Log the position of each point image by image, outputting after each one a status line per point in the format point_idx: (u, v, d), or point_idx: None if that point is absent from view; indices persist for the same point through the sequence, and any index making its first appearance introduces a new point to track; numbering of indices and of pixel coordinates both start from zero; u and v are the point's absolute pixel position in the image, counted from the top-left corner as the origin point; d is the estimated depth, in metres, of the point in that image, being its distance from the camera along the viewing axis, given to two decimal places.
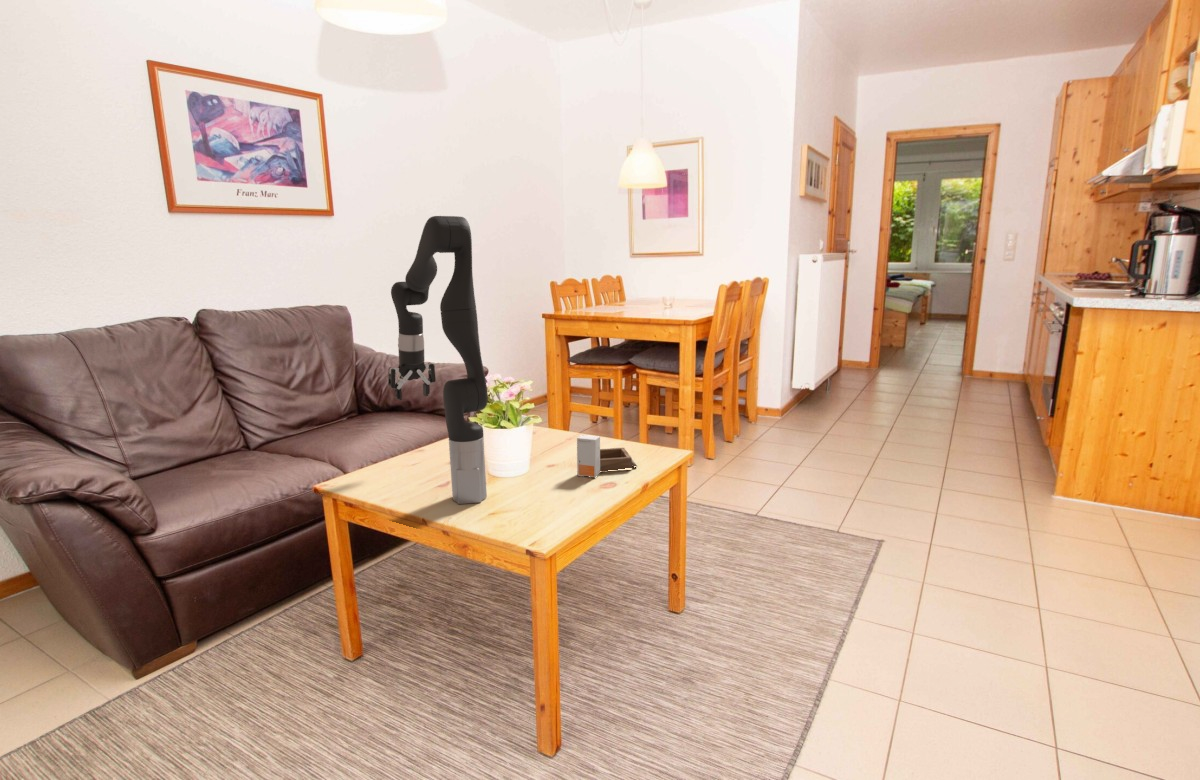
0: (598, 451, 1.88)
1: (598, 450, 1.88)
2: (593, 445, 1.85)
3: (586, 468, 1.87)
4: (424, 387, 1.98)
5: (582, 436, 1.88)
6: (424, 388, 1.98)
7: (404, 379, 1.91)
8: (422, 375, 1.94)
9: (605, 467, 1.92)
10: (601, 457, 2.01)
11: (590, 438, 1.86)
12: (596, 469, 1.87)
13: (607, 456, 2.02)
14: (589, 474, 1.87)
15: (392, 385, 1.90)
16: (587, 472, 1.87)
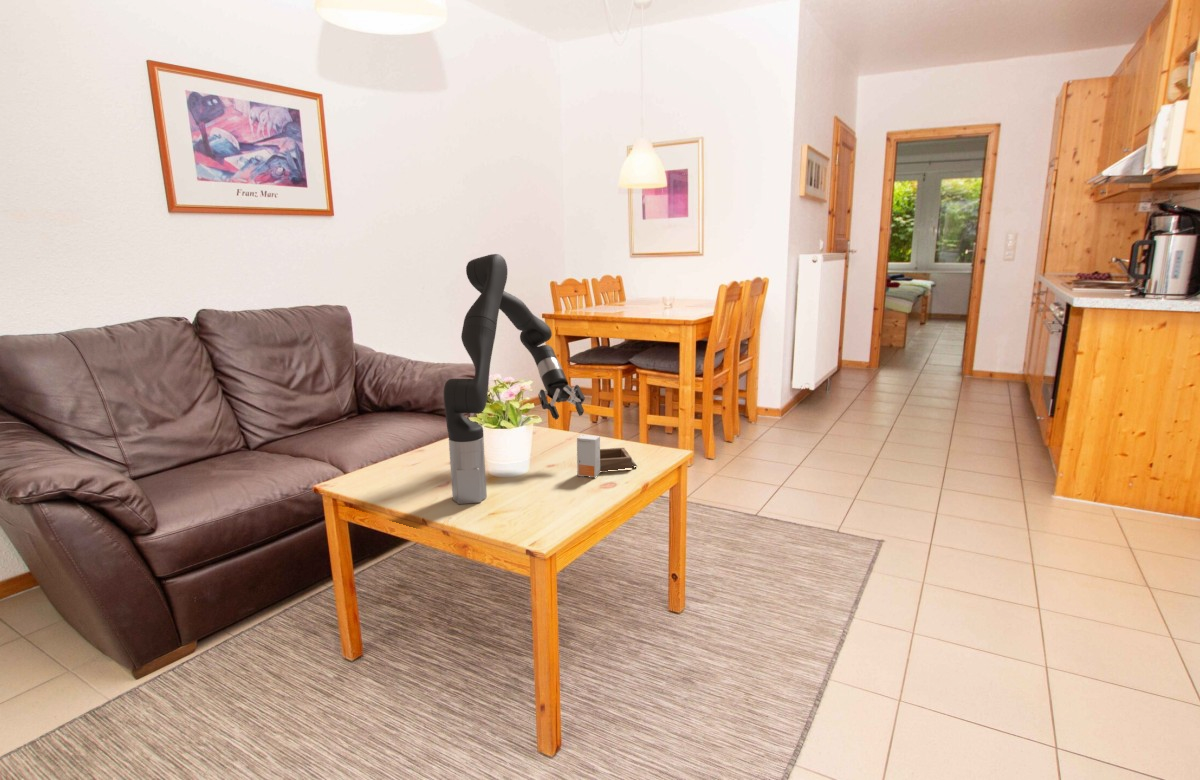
0: (598, 451, 1.88)
1: (598, 450, 1.88)
2: (593, 445, 1.85)
3: (586, 468, 1.87)
4: (577, 407, 2.00)
5: (582, 436, 1.88)
6: (577, 408, 2.00)
7: (554, 396, 1.97)
8: (570, 393, 2.00)
9: (605, 467, 1.92)
10: (601, 457, 2.01)
11: (590, 438, 1.86)
12: (596, 469, 1.87)
13: (607, 456, 2.02)
14: (589, 474, 1.87)
15: (545, 402, 1.95)
16: (587, 472, 1.87)
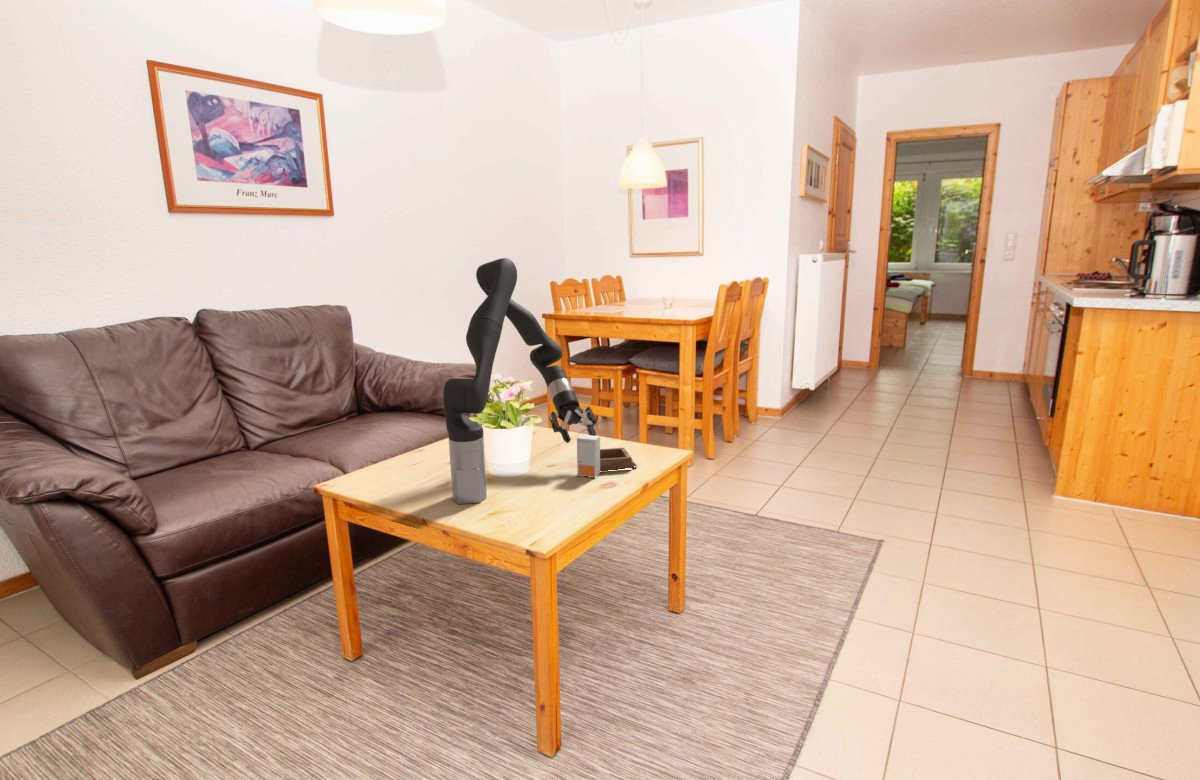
0: (598, 451, 1.88)
1: (598, 450, 1.88)
2: (593, 445, 1.85)
3: (586, 468, 1.87)
4: (589, 429, 1.95)
5: (582, 436, 1.88)
6: (589, 430, 1.94)
7: (566, 419, 1.92)
8: (582, 415, 1.95)
9: (605, 467, 1.92)
10: (601, 457, 2.01)
11: (590, 438, 1.86)
12: (596, 469, 1.87)
13: (607, 456, 2.02)
14: (589, 474, 1.87)
15: (556, 425, 1.90)
16: (587, 472, 1.87)
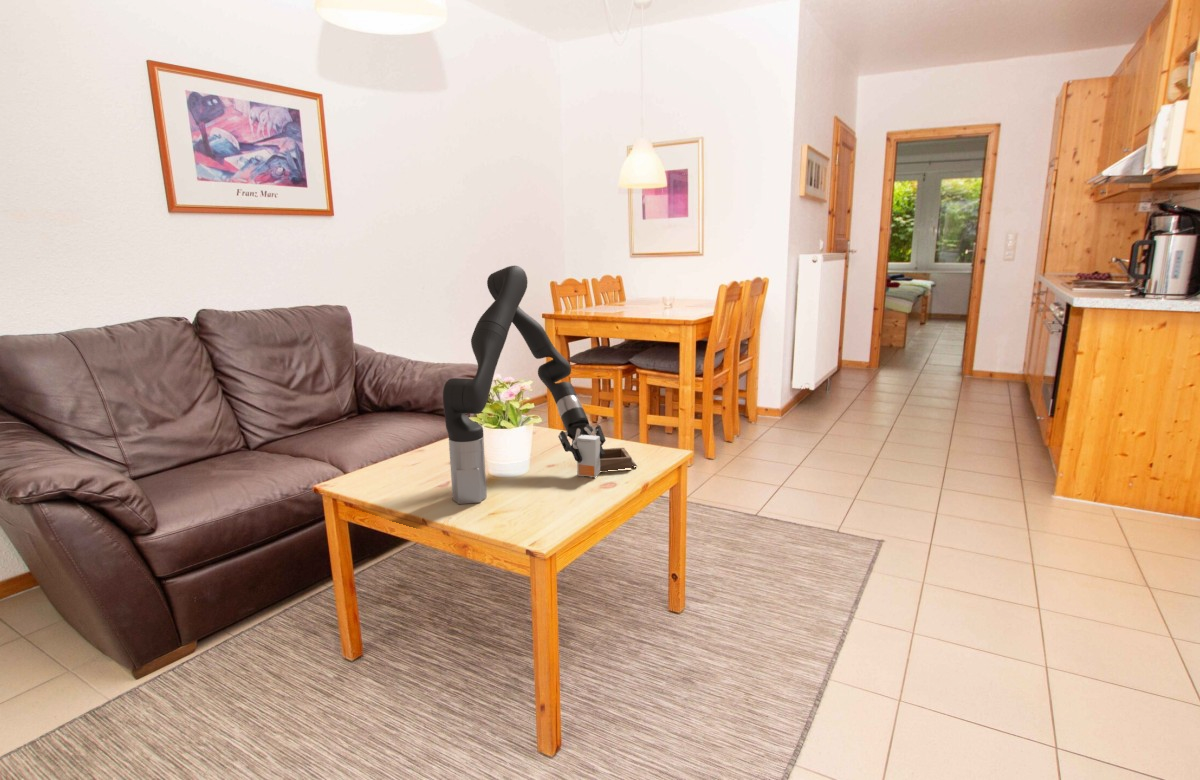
0: (598, 451, 1.88)
1: (598, 450, 1.88)
2: (593, 445, 1.85)
3: (586, 468, 1.87)
4: None
5: (582, 436, 1.88)
6: None
7: (576, 438, 1.88)
8: (591, 433, 1.91)
9: (605, 467, 1.92)
10: None
11: (590, 438, 1.86)
12: (596, 469, 1.87)
13: (607, 456, 2.02)
14: (589, 474, 1.87)
15: (567, 445, 1.86)
16: (587, 472, 1.87)
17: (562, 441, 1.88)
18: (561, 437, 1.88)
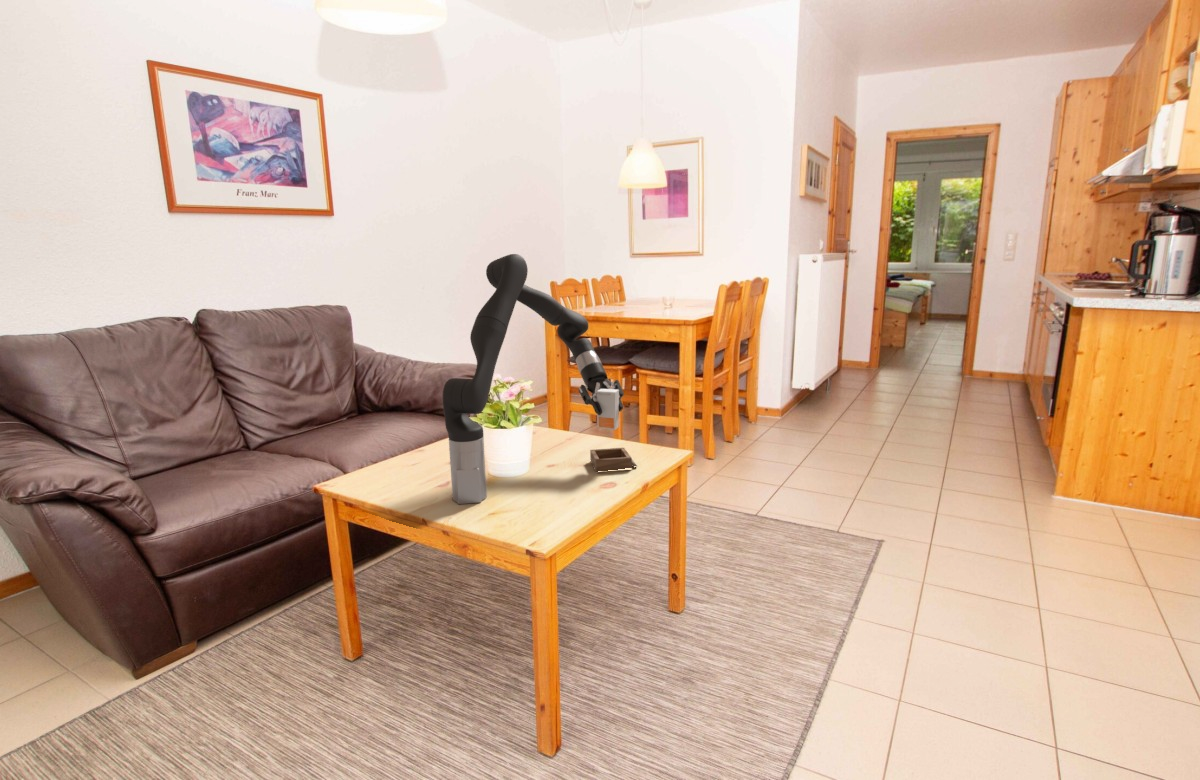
0: (618, 404, 1.94)
1: (617, 403, 1.93)
2: (613, 397, 1.91)
3: (606, 421, 1.93)
4: None
5: (602, 389, 1.94)
6: None
7: (596, 391, 1.93)
8: (610, 387, 1.96)
9: (605, 467, 1.92)
10: (601, 457, 2.01)
11: (610, 391, 1.92)
12: (616, 421, 1.93)
13: (607, 456, 2.02)
14: (609, 426, 1.93)
15: (588, 398, 1.91)
16: (606, 424, 1.93)
17: (582, 394, 1.93)
18: (581, 390, 1.93)
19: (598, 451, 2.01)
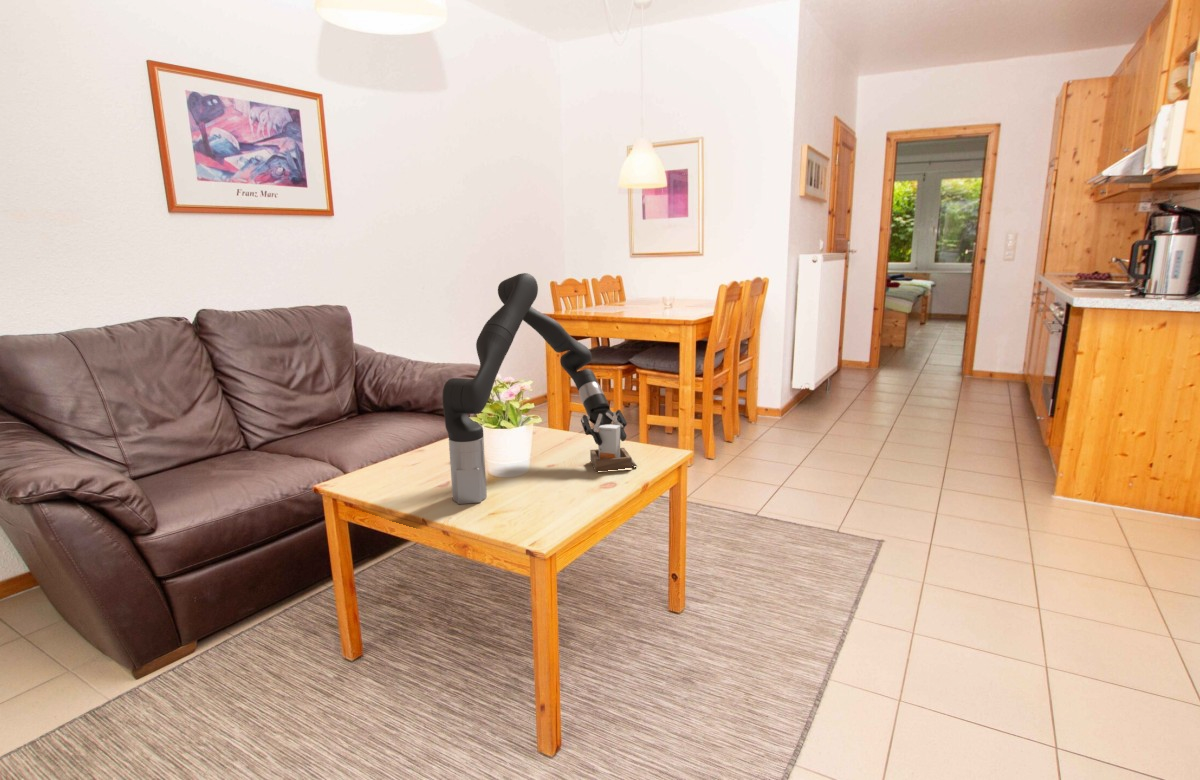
0: (619, 440, 1.96)
1: (618, 439, 1.96)
2: (614, 433, 1.93)
3: (607, 456, 1.95)
4: None
5: (603, 425, 1.96)
6: (620, 433, 1.98)
7: (597, 422, 1.95)
8: (612, 418, 1.98)
9: (605, 467, 1.92)
10: None
11: (611, 427, 1.94)
12: (617, 457, 1.95)
13: None
14: None
15: (588, 428, 1.93)
16: None
17: (583, 424, 1.95)
18: (583, 420, 1.95)
19: None
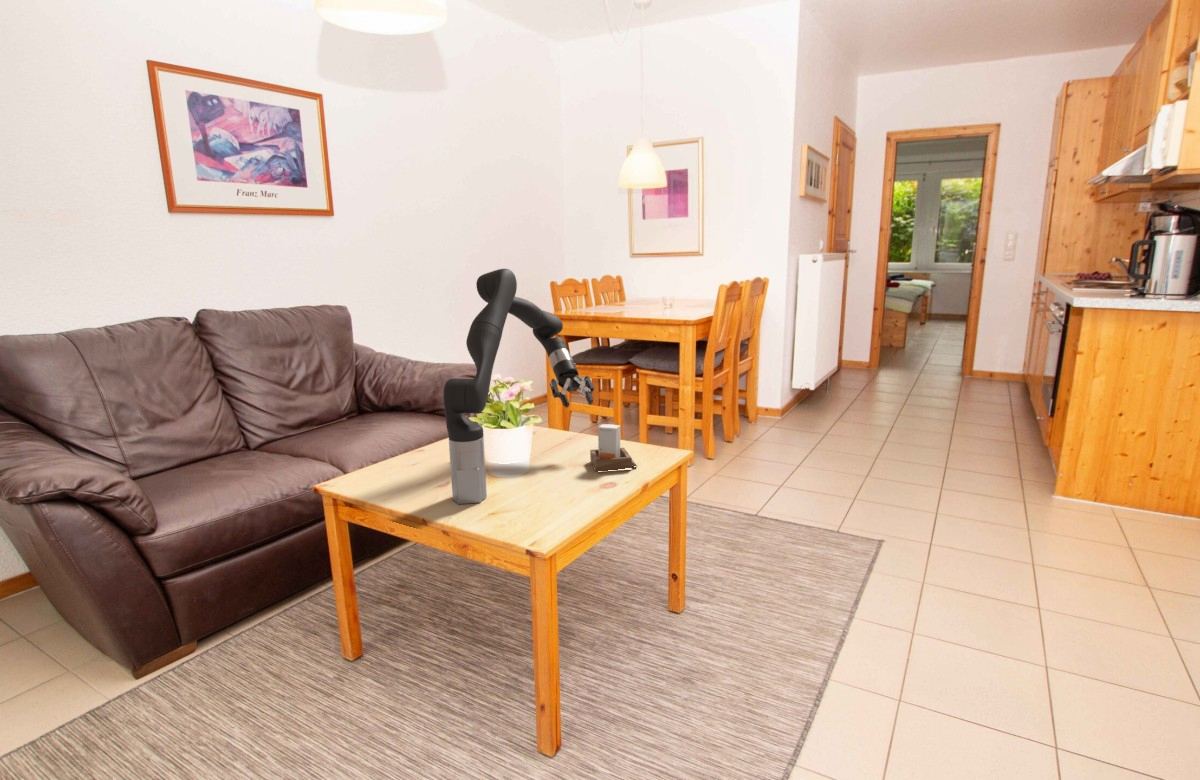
0: (619, 440, 1.96)
1: (618, 439, 1.96)
2: (614, 433, 1.93)
3: (607, 456, 1.95)
4: (587, 396, 2.07)
5: (603, 425, 1.96)
6: (587, 397, 2.07)
7: (565, 385, 2.04)
8: (580, 382, 2.07)
9: (605, 467, 1.92)
10: None
11: (611, 427, 1.94)
12: (617, 457, 1.95)
13: None
14: None
15: (556, 391, 2.02)
16: None
17: (552, 388, 2.04)
18: (551, 384, 2.04)
19: None
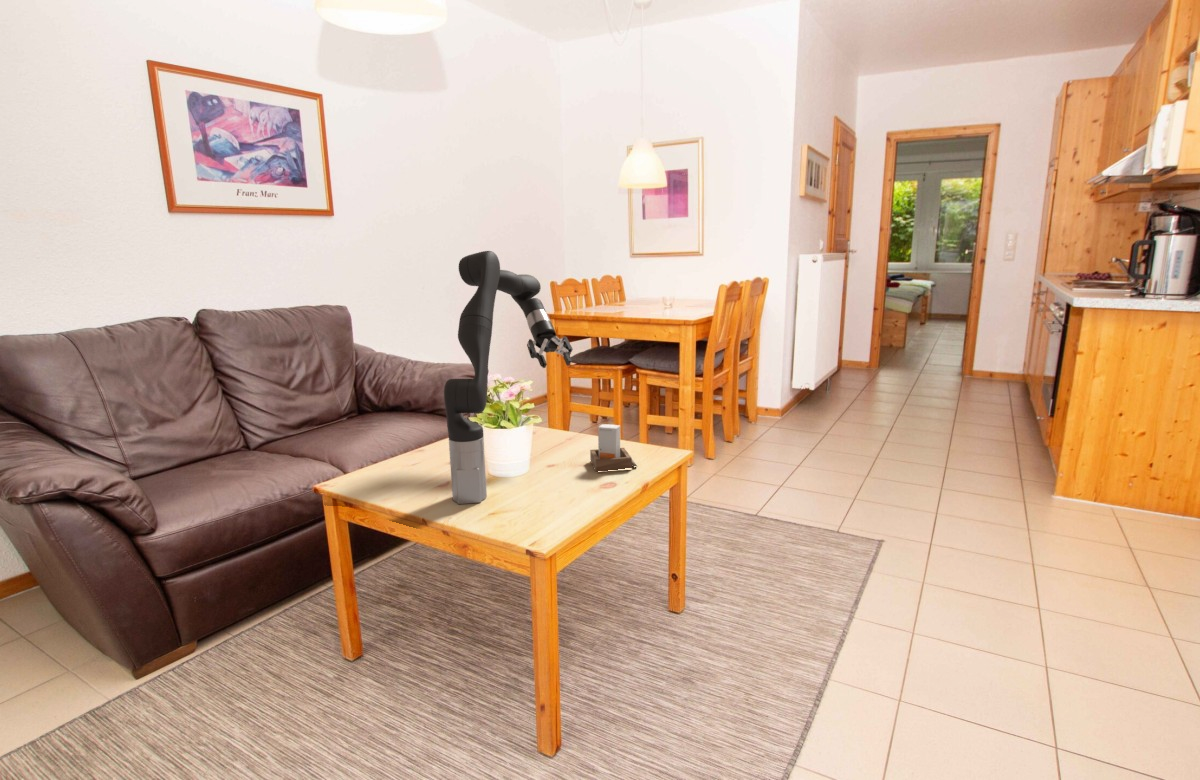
0: (619, 440, 1.96)
1: (618, 439, 1.96)
2: (614, 433, 1.93)
3: (607, 456, 1.95)
4: (565, 357, 2.05)
5: (603, 425, 1.96)
6: (565, 358, 2.04)
7: (542, 346, 2.02)
8: (558, 343, 2.05)
9: (605, 467, 1.92)
10: None
11: (611, 427, 1.94)
12: (617, 457, 1.95)
13: None
14: None
15: (533, 351, 2.00)
16: None
17: (529, 348, 2.02)
18: (529, 344, 2.02)
19: None
